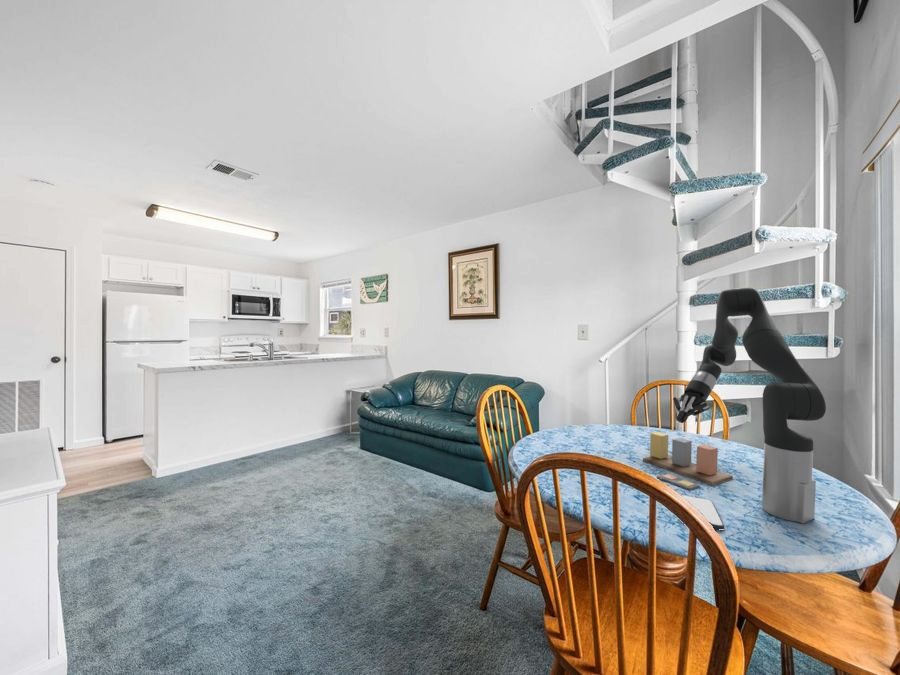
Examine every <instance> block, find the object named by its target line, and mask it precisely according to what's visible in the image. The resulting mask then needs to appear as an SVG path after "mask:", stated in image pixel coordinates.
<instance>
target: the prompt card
mask: <svg viewBox="0 0 900 675" xmlns="http://www.w3.org/2000/svg"><path fill="white" fill-rule="evenodd" d="M656 478H657V479H659V480H661V481H664V480H665V481H664V482H666V481H667V483H669V484H672V483H673V484H672V485H674V486H677V487H680V488H682V489H685V490H688V491H692V490H696V489H698V488H700V487H701V485H700V484H698V483H695V482H692V481H691V480H687V479H685V478H684V479H683V478H682V477H678V476H676V475H673V474H670V473H668V472H665V473H664V474H660V475H657V476H656ZM660 478H662V479H660Z"/></svg>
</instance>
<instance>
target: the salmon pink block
mask: <svg viewBox="0 0 900 675" xmlns="http://www.w3.org/2000/svg"><path fill="white" fill-rule="evenodd" d="M718 451H719V450H718V447H716V446H711V445H709V444H705V443H704V444H701V445H700V444H699V445H697V446H696V463H695V464H696V471H698V472H701V473H704V474H707V475H713V474H716V473H717V471H718Z"/></svg>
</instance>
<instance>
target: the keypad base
mask: <svg viewBox="0 0 900 675" xmlns="http://www.w3.org/2000/svg"><path fill="white" fill-rule="evenodd" d="M642 461H643V462H646V463H649V464H651V463H652V465H655V466H657V467H659V466H660V468H662V467H663V468H662V469H665V468H666V470H668V469H669V471H671V472H674V473H677V474H679V475H682V476H686V477H688V478H691V479H693V480H696V481H699V482H702V483H704V484H705V483H706V484H708V485H711V486H716V485H718V484H721V483H726V482H728V481H731V480H734V476H733V475H731V474H728V473H725V472H722V471H720V470H719V471H718V470H717V473H716V474H713V475H707V474H704V473H701V472H698V471H696V463H693V462H691V465H688V466H685V467H683V466H680V465H677V464H674V463H672V455H669V454H668V457H667V458H663V459H659V458H656V457H653V456H650V455H649V456H645V457H642Z"/></svg>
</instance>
